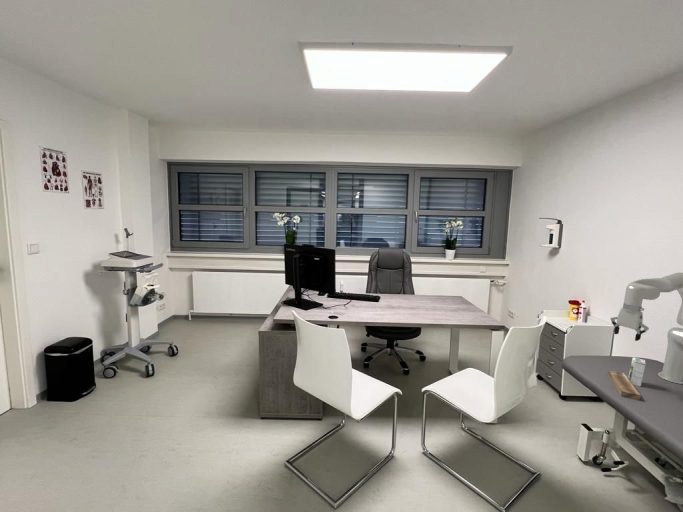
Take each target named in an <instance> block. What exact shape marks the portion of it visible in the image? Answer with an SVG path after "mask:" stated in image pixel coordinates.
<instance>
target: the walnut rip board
mask: <svg viewBox="0 0 683 512" xmlns="http://www.w3.org/2000/svg"><path fill="white" fill-rule="evenodd" d="M607 376H608V378H609V377H610V378H609V379H610V381H611V383H612V382H613V383H612V384H613V386H614V387H615V389H616V390H617V392H618V394H619V396H620V397H623V398H627V399H632V400H637V401H638V402H640V401H641V397H642V396H641V393H640V392H639V391H638V389H637V388H636V385H633V384H632V382H631V381H630V380H629V378H628V377H629V376H628V375H627V374H626V373H624V372H619V371H613V370H608V372H607Z"/></svg>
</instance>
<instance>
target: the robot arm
mask: <svg viewBox="0 0 683 512" xmlns="http://www.w3.org/2000/svg"><path fill="white" fill-rule="evenodd" d="M674 291H677V293H678V294H679V297H680V298H681V304H680V307H679V311H678V313H677V316H676V323H677V324H678V325H679V326H682V327H683V272H675V273H672V274H669V275H666V276H663V277H654V278H642V279H641V278H640V279H637V280H634V281H631V282H630V283H628V284H627V286H626V288H625V292H624V293H625V294H624V299H623V305H622V307H620V310H619V312H618V315H617V316H613V317H610V321H611V324H612V325H613V328H614V329H613V334H614V335H619V333H620V326H621V327H624V328H628V329H632V330H634V331H635V332H636V333H635V337H634V341H636V342H638V341H640V340H641V338H642V335H643V334H645V333H647V331H648V330H649V329H650V328H649V327H648V326H646V325H645V324H644V323H643V322H644V319H643V318H644V317H643V313H644V311H645V308H644V307H643V306H642V304H643V300H649V301H654V300H656V299H658V298H659V297H660V295H661V293H672V292H674ZM682 327H676V326H675V327H671V328H670V329H668V331H667V347H666V353H665V356H664V357H665V358H664V362H663V366H662V371H659V372H658V373H657V375H658V377H659V378H661V379H663V380H666V381H668V382H671V383H674V384H679V385H683V328H682ZM642 328H643V329H642Z"/></svg>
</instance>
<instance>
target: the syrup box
mask: <svg viewBox="0 0 683 512" xmlns="http://www.w3.org/2000/svg"><path fill="white" fill-rule="evenodd" d="M629 367H630V368H629V371H628V372H629V374H628V376H627V377H628V378H629V380H630V381H631V382H632V384H633V385H634V386H638V387H641V386H642V383H643V378H644V374H645V369H646V359H641V358H639V357H632V360H631V364H630V366H629Z"/></svg>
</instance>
